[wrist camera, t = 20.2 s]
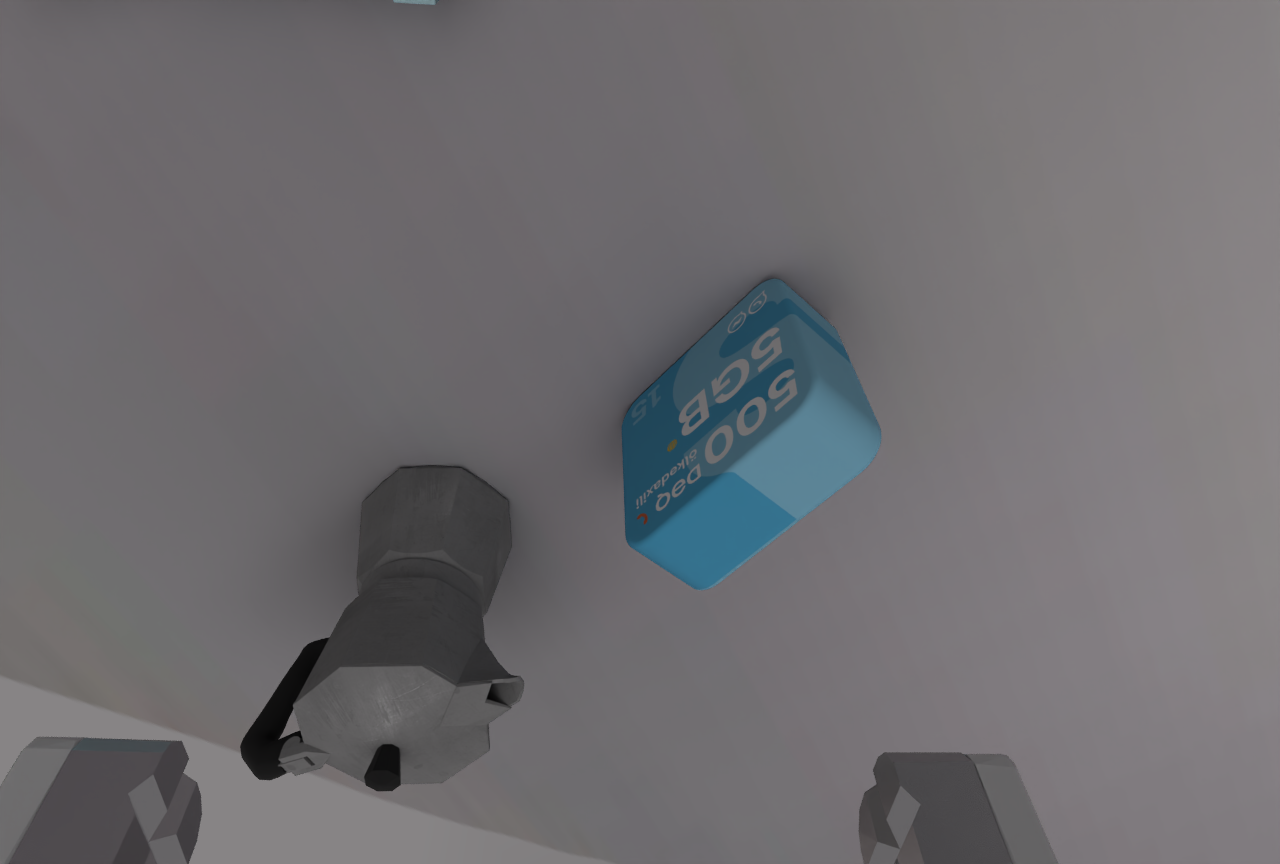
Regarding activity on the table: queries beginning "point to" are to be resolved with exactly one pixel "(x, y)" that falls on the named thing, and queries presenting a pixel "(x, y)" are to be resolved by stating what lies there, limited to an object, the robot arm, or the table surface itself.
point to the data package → (743, 437)
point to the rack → (418, 1)
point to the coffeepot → (402, 644)
